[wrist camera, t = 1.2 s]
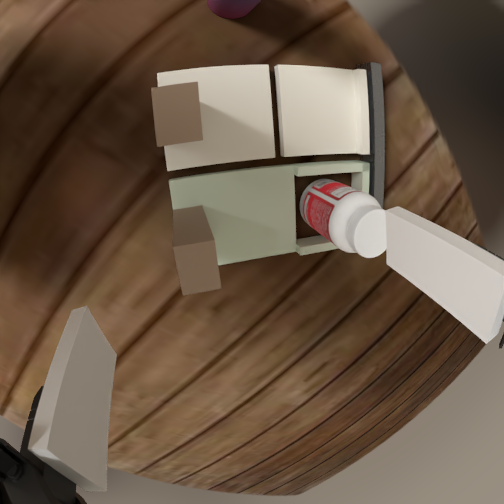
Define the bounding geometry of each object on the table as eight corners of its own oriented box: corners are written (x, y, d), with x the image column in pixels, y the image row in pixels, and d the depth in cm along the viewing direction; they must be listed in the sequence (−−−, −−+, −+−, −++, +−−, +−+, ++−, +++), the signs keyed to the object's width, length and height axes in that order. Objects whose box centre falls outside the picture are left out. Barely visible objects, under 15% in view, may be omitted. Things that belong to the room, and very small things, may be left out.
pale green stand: (183, 266, 34) (190, 326, 24) (168, 179, 29) (165, 206, 19) (356, 236, 38) (410, 274, 28) (358, 160, 34) (422, 178, 24)
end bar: (357, 242, 38) (370, 250, 36) (356, 65, 29) (370, 62, 26) (366, 240, 39) (379, 248, 36) (366, 66, 29) (380, 63, 27)
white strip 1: (167, 169, 29) (163, 191, 19) (157, 75, 25) (148, 46, 15) (271, 156, 31) (318, 172, 21) (265, 66, 27) (310, 40, 17)
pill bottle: (320, 236, 37) (369, 277, 27) (287, 205, 34) (333, 240, 24) (352, 200, 36) (409, 229, 26) (322, 166, 33) (380, 186, 23)
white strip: (280, 155, 31) (288, 158, 29) (274, 66, 27) (281, 62, 25) (358, 152, 33) (369, 154, 31) (354, 72, 29) (366, 69, 27)
